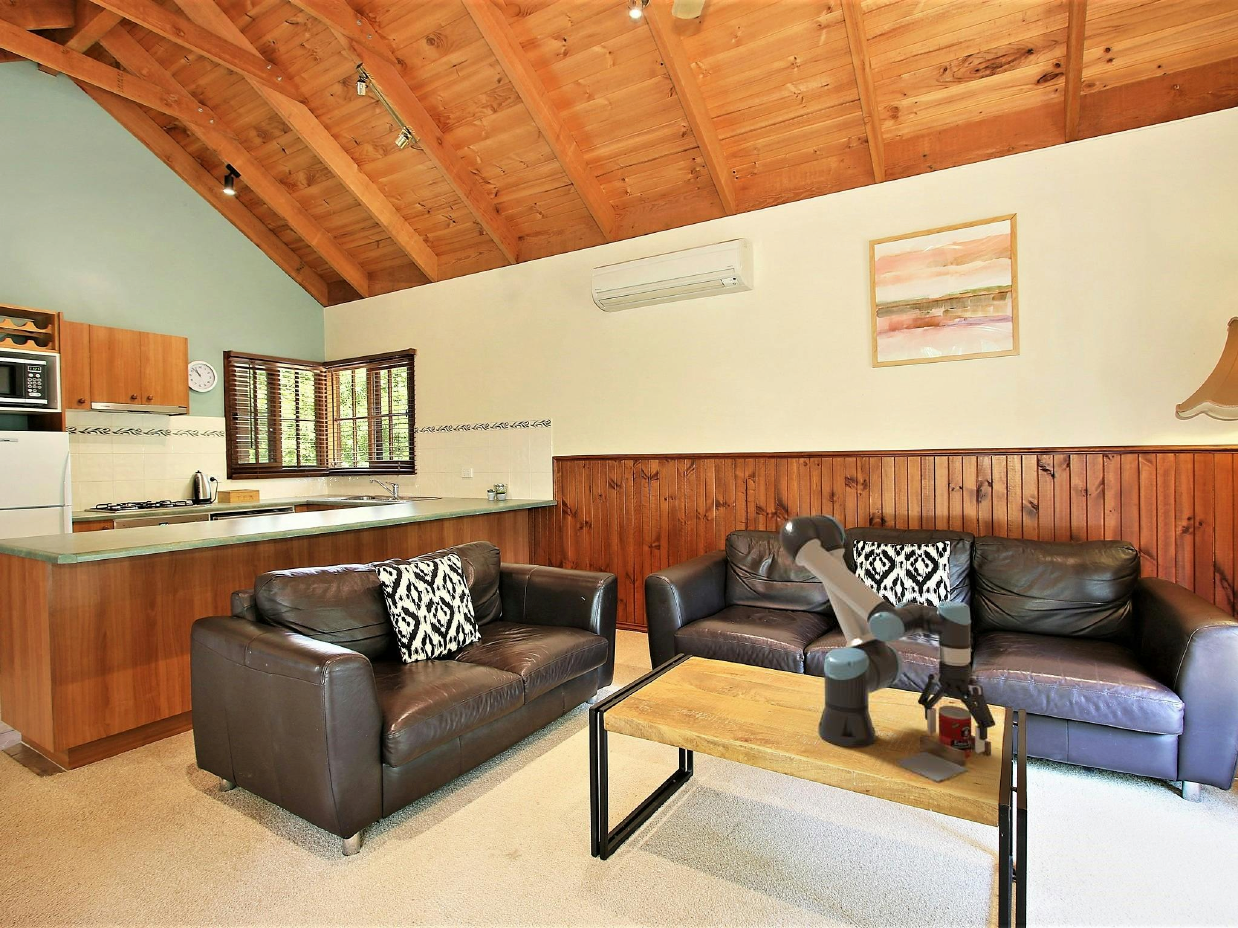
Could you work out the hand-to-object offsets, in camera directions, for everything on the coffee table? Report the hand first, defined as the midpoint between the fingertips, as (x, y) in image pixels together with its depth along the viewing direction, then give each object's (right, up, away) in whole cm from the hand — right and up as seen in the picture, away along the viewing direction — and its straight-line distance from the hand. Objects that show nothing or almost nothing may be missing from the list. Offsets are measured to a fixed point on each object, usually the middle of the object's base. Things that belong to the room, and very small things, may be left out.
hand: (955, 741), depth 178 cm
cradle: (0, -3, 0) cm, 3 cm away
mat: (-10, -3, -8) cm, 13 cm away
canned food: (0, -3, 0) cm, 3 cm away
